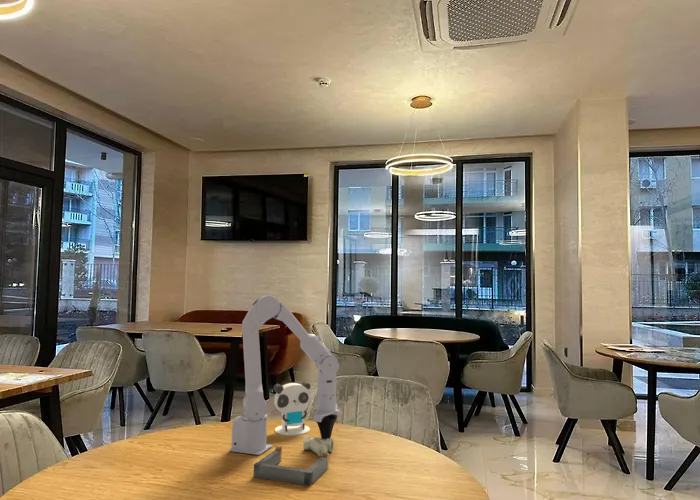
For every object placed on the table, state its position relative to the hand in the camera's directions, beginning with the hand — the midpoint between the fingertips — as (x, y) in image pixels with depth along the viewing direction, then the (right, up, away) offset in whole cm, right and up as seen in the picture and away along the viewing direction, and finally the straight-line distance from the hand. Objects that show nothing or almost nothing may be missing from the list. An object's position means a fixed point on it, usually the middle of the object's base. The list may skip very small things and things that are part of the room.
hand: (325, 440), depth 144 cm
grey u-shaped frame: (-7, +1, -22) cm, 23 cm away
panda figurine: (-12, -2, +13) cm, 18 cm away
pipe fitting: (-2, -1, -7) cm, 8 cm away
